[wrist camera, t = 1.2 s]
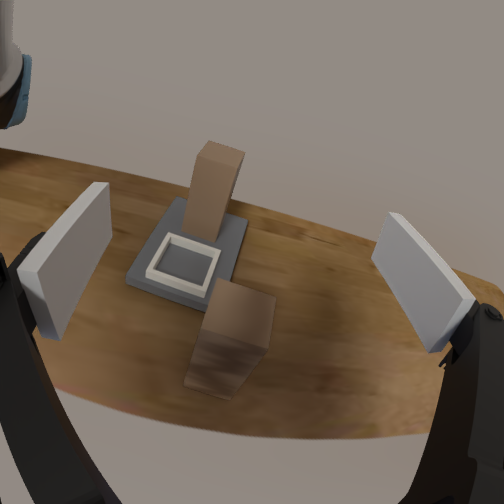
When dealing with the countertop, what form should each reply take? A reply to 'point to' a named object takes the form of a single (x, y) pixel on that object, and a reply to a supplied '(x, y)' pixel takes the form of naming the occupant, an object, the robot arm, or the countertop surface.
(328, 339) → the countertop surface
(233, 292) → the pillar
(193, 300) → the baseplate
